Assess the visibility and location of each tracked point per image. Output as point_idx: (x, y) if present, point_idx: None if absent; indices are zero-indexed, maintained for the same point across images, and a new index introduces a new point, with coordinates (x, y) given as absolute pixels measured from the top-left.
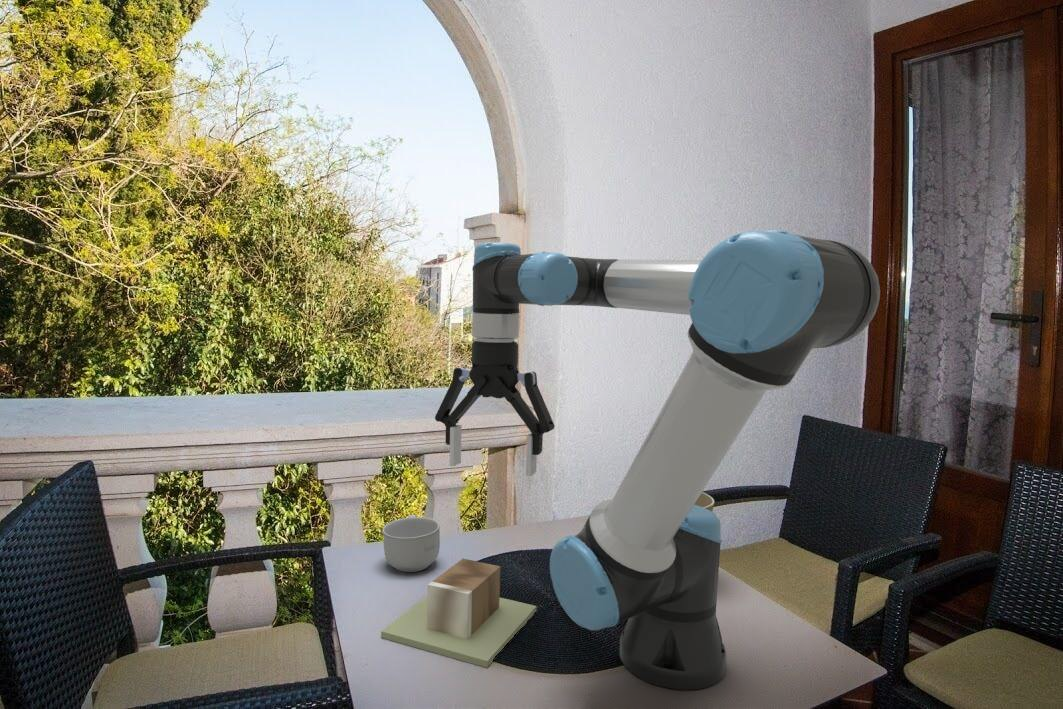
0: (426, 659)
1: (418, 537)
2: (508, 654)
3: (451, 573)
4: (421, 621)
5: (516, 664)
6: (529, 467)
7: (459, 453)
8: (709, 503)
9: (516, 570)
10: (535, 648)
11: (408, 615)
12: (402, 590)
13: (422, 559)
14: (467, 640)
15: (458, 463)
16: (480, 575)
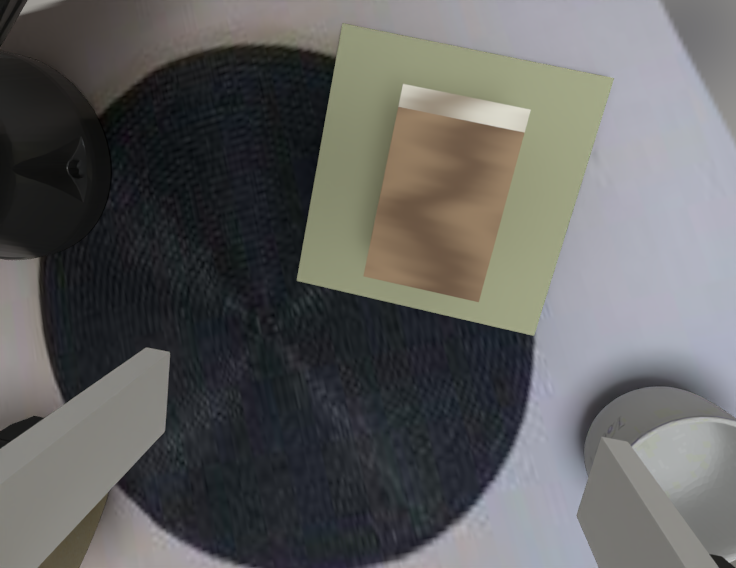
0: (478, 22)
1: (652, 430)
2: (315, 91)
3: (483, 196)
4: (532, 147)
5: (291, 58)
6: (125, 365)
7: (601, 540)
8: None
9: (385, 456)
10: (268, 130)
11: (571, 166)
12: (627, 306)
13: (615, 406)
14: None
15: (585, 492)
16: (401, 206)
